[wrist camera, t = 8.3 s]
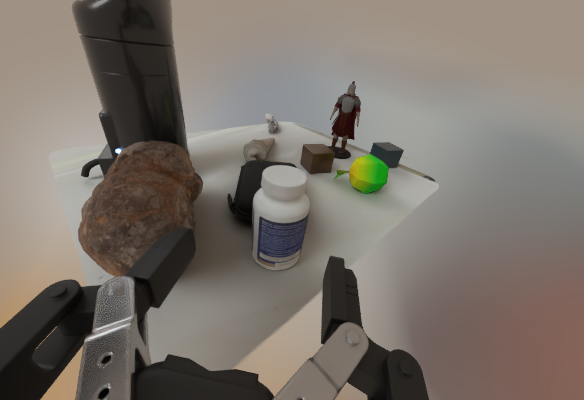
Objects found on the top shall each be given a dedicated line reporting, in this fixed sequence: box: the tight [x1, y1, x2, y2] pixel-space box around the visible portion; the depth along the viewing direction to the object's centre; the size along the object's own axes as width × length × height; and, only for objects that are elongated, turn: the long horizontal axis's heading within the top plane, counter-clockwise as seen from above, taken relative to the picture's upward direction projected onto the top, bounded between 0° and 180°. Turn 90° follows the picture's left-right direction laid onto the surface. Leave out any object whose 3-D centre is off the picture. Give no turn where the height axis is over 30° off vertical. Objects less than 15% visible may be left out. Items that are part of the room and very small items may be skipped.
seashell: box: [244, 138, 275, 161], centre depth 47 cm, size 4×16×4 cm, turn 171°
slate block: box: [370, 142, 403, 168], centre depth 50 cm, size 4×4×4 cm
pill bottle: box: [252, 165, 310, 270], centre depth 23 cm, size 5×5×10 cm
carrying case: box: [227, 160, 297, 222], centre depth 34 cm, size 11×3×15 cm
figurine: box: [327, 81, 361, 159], centre depth 49 cm, size 7×7×15 cm
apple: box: [333, 154, 389, 194], centre depth 39 cm, size 7×6×9 cm
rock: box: [78, 141, 203, 277], centre depth 22 cm, size 18×12×10 cm
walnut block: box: [300, 144, 335, 174], centre depth 44 cm, size 4×4×4 cm
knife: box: [265, 113, 278, 133], centre depth 65 cm, size 2×18×3 cm
